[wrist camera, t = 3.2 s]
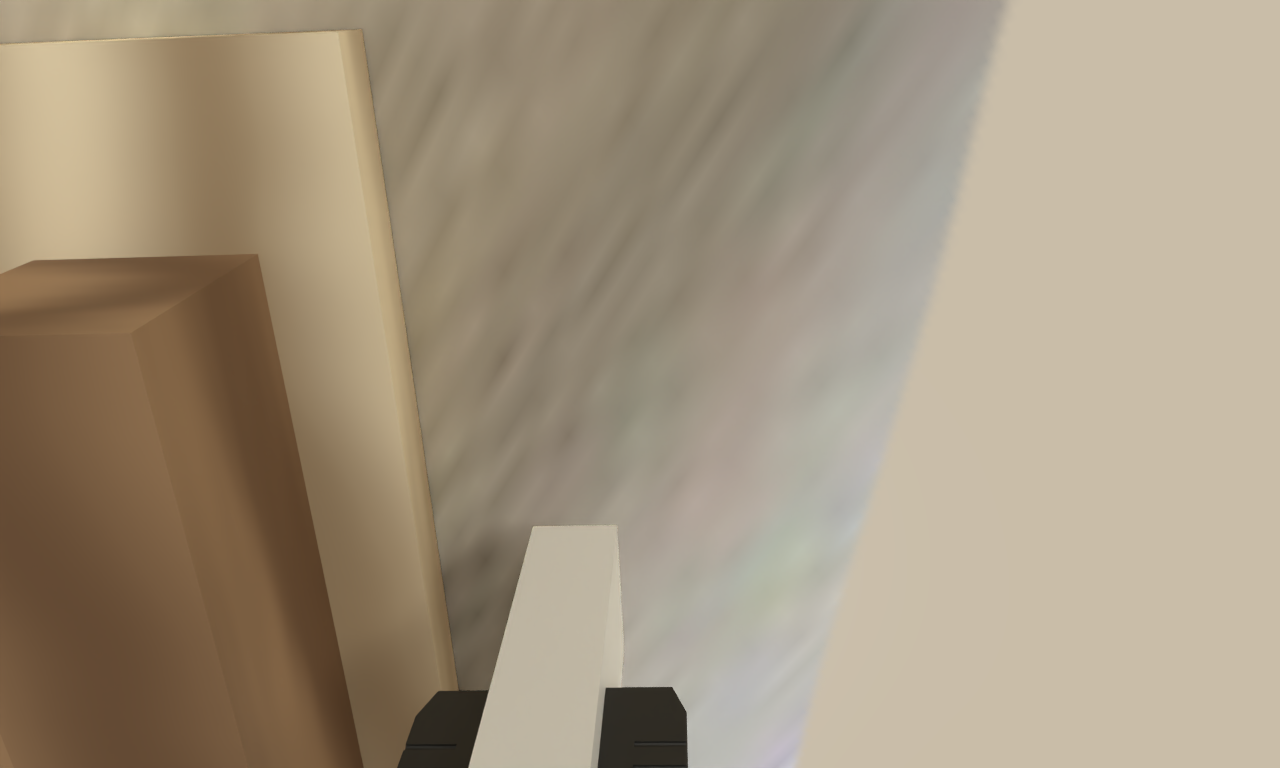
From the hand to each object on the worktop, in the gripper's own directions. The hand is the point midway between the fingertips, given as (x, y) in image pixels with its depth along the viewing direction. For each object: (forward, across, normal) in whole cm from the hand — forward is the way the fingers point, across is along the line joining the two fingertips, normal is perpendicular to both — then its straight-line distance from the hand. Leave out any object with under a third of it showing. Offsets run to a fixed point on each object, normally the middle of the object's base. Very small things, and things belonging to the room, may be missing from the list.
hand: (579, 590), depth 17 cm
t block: (+1, -11, 0) cm, 11 cm away
